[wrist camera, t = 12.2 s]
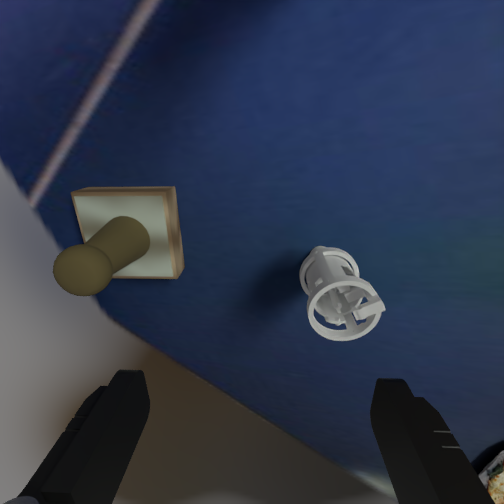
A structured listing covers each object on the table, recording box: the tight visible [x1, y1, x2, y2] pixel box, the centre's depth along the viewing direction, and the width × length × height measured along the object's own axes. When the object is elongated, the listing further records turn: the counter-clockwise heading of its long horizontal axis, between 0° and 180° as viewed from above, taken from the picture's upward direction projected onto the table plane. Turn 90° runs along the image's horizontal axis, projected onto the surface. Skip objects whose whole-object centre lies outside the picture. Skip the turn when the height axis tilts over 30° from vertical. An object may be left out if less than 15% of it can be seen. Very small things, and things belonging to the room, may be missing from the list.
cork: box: [53, 216, 150, 296], centre depth 31 cm, size 6×6×11 cm
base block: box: [71, 186, 185, 279], centre depth 38 cm, size 12×12×4 cm
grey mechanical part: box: [299, 246, 385, 341], centre depth 33 cm, size 7×7×15 cm
